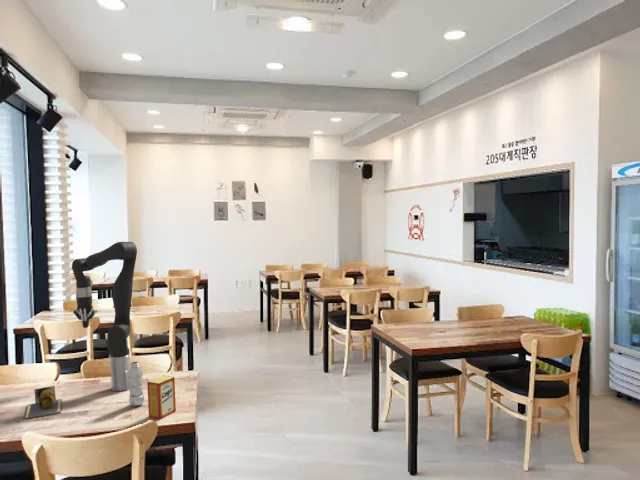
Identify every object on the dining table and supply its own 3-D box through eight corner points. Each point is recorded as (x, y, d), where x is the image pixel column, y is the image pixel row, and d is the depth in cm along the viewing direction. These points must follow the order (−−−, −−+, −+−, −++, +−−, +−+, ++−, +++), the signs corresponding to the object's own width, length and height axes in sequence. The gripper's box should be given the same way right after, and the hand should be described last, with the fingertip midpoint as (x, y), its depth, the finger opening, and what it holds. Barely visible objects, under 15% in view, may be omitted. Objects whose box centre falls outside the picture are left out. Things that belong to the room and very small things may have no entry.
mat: (27, 405, 229) (27, 404, 229) (61, 400, 236) (61, 398, 236) (24, 419, 213) (24, 418, 213) (60, 413, 220) (60, 411, 220)
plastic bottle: (147, 403, 229) (145, 361, 228) (137, 408, 222) (135, 365, 221) (136, 401, 231) (134, 360, 230) (126, 407, 224) (124, 364, 223)
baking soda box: (164, 409, 221) (163, 374, 220) (175, 411, 218) (174, 376, 217) (148, 417, 212) (147, 381, 212) (160, 419, 210) (158, 383, 209)
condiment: (55, 400, 235) (55, 408, 224) (35, 404, 231) (33, 412, 221) (54, 385, 235) (53, 393, 224) (34, 389, 231) (32, 397, 220)
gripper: (99, 294, 264) (101, 326, 265) (77, 294, 266) (78, 325, 267) (91, 296, 257) (92, 329, 258) (68, 296, 259) (70, 329, 260)
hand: (85, 327), depth 262 cm, fingers closed
